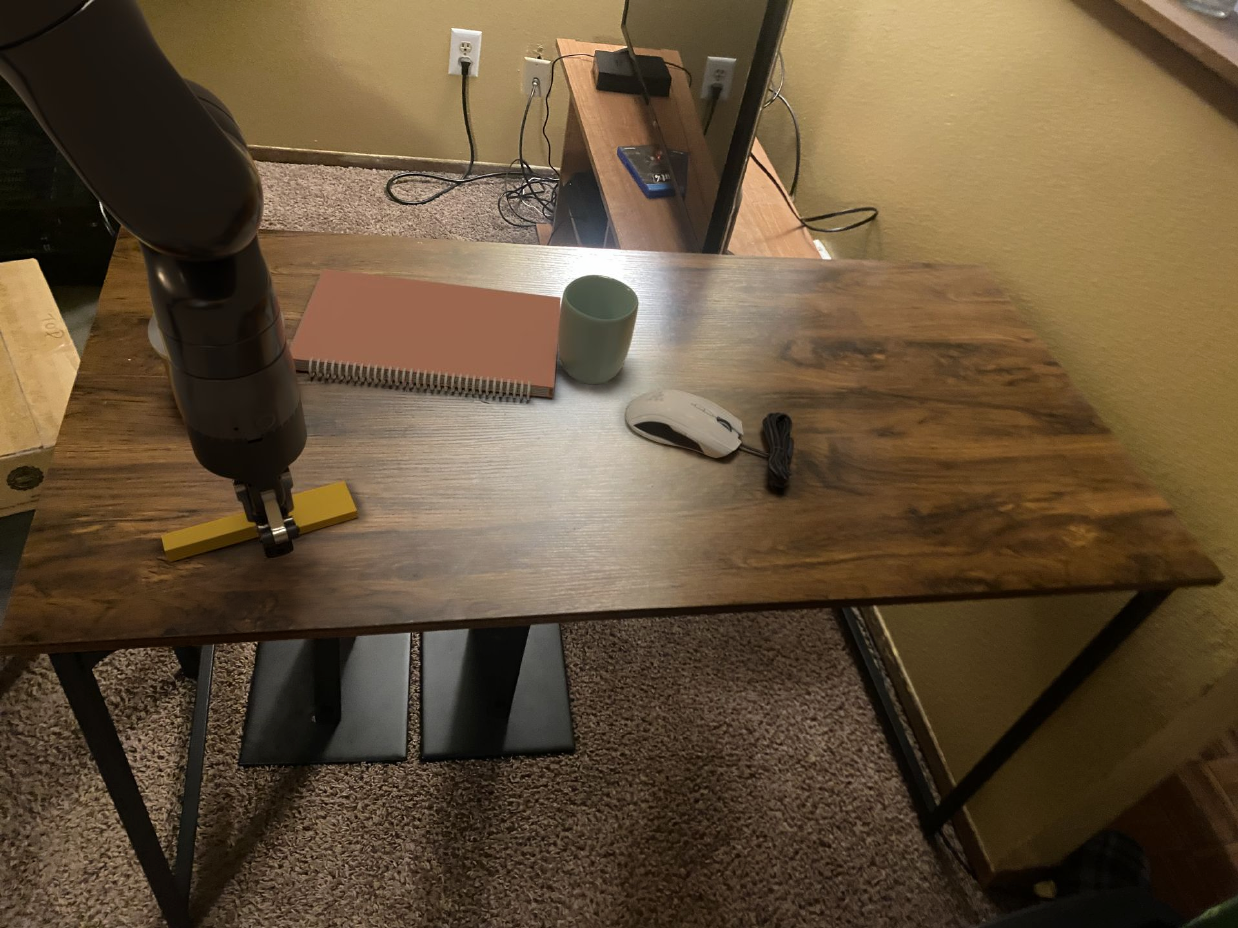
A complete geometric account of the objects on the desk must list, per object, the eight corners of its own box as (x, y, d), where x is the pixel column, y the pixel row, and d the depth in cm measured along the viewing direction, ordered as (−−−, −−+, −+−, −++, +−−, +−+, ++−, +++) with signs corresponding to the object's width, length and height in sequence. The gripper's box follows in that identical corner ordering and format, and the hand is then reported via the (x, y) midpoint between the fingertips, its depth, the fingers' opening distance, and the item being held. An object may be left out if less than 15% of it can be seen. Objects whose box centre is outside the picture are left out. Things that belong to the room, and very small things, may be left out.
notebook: (284, 377, 85) (282, 362, 83) (324, 281, 96) (322, 266, 95) (551, 406, 88) (553, 392, 86) (559, 309, 99) (560, 295, 98)
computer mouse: (635, 386, 92) (641, 358, 89) (795, 433, 91) (807, 406, 88) (611, 446, 85) (617, 418, 82) (784, 498, 84) (796, 471, 81)
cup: (637, 369, 94) (652, 296, 87) (599, 405, 89) (612, 331, 82) (580, 338, 96) (591, 265, 89) (540, 372, 91) (548, 297, 84)
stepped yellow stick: (171, 572, 68) (166, 560, 67) (163, 537, 70) (158, 525, 69) (358, 517, 74) (356, 506, 73) (345, 487, 76) (343, 475, 75)
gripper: (161, 346, 58) (213, 504, 71) (199, 479, 51) (249, 629, 64) (273, 326, 61) (304, 480, 74) (324, 448, 54) (348, 597, 67)
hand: (278, 549), depth 69 cm, fingers closed
